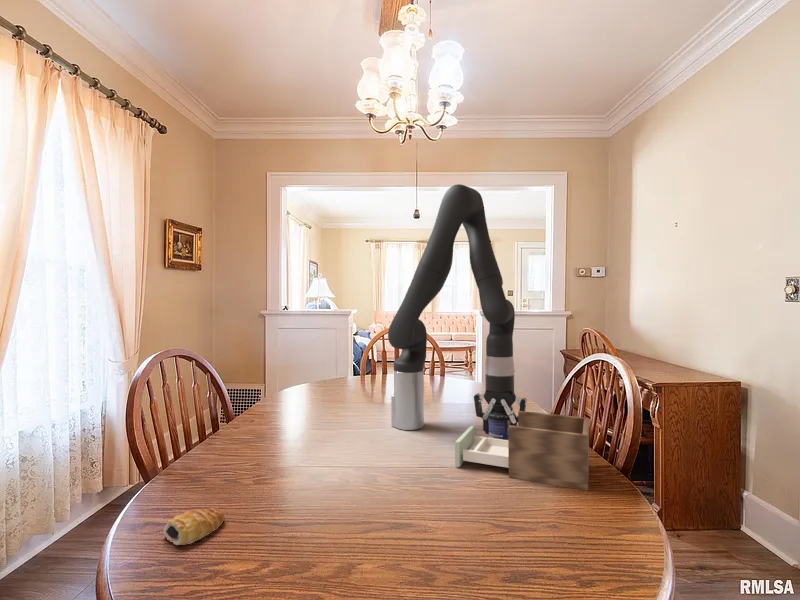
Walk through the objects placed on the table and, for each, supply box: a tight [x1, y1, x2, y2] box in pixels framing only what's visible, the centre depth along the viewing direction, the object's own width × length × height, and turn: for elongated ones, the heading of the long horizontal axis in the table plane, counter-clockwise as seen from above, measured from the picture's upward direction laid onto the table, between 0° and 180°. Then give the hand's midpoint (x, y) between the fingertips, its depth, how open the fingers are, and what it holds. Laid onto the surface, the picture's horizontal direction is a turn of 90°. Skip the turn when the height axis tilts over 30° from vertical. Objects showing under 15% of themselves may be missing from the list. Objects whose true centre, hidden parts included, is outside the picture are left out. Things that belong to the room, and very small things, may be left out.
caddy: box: [508, 410, 590, 491], centre depth 96 cm, size 16×14×11 cm
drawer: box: [454, 425, 509, 469], centre depth 101 cm, size 16×14×6 cm
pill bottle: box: [487, 404, 511, 440], centre depth 114 cm, size 6×6×11 cm
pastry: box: [162, 507, 226, 546], centre depth 73 cm, size 9×7×4 cm
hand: (500, 434), depth 114 cm, fingers closed on pill bottle, 6 cm apart
